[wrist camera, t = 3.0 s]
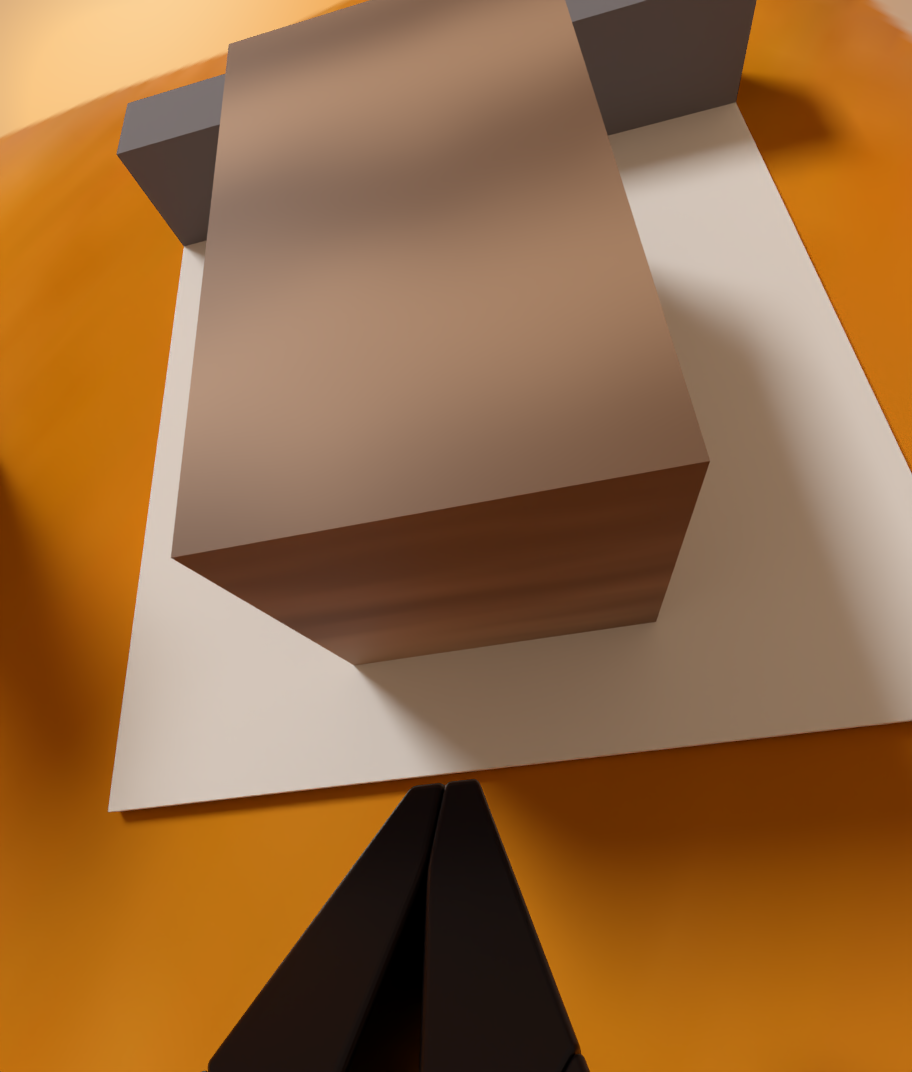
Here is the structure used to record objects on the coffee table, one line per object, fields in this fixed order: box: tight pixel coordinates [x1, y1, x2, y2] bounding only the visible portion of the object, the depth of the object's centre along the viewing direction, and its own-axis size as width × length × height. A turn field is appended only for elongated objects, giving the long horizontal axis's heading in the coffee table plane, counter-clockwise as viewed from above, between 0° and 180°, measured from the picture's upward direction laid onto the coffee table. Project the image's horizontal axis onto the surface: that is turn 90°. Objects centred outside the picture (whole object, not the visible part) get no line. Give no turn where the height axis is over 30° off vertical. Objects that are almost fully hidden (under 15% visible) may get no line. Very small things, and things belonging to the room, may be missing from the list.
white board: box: [108, 0, 912, 812], centre depth 18 cm, size 25×22×4 cm
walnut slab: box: [171, 0, 710, 665], centre depth 15 cm, size 14×8×8 cm, turn 6°
